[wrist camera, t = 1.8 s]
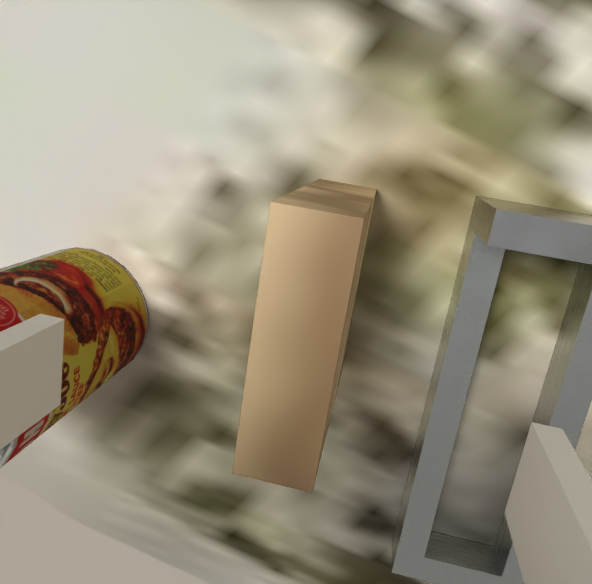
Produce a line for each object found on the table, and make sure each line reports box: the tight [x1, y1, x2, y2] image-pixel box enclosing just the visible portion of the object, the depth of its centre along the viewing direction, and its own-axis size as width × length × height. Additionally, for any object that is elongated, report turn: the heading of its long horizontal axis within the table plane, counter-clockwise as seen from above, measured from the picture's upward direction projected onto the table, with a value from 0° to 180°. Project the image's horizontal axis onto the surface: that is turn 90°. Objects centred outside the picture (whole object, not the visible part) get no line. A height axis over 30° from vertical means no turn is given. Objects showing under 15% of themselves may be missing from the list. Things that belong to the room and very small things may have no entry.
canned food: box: [0, 247, 148, 468], centre depth 28 cm, size 8×8×12 cm
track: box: [392, 196, 592, 584], centre depth 28 cm, size 7×21×6 cm, turn 171°
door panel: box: [232, 179, 377, 493], centre depth 25 cm, size 3×10×12 cm, turn 171°
